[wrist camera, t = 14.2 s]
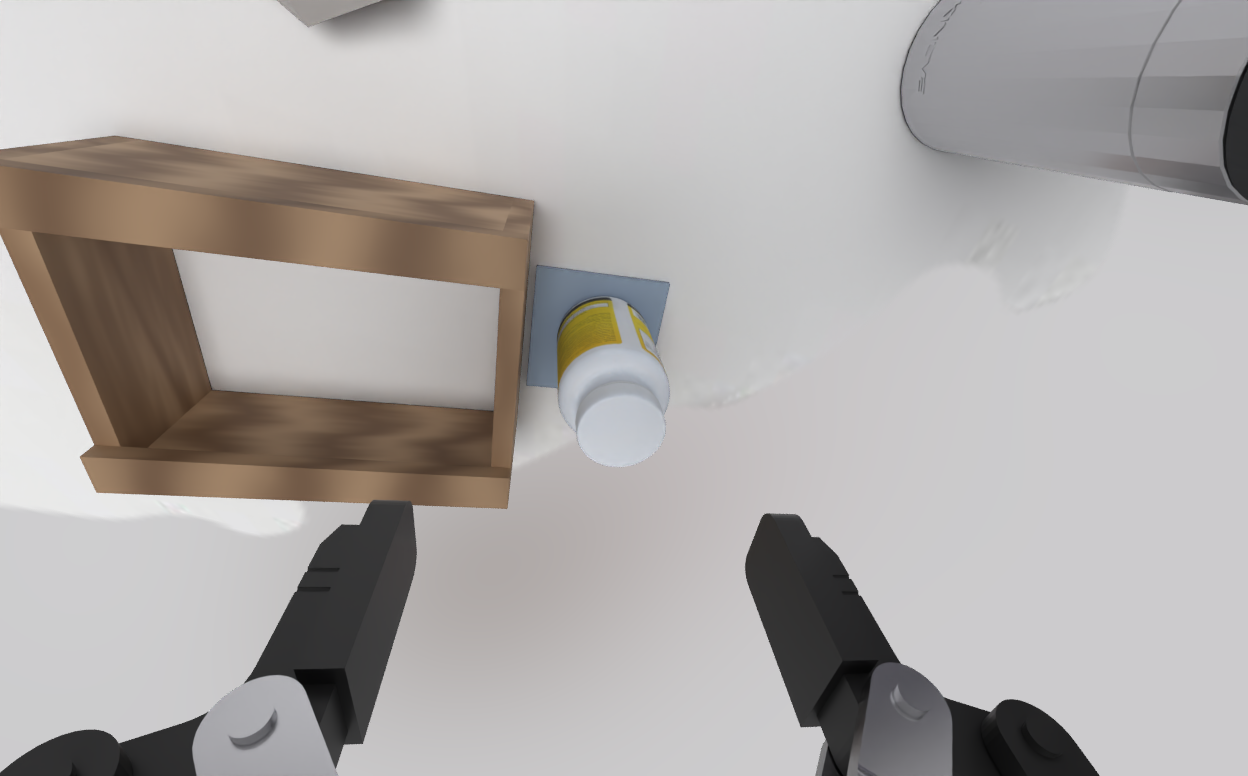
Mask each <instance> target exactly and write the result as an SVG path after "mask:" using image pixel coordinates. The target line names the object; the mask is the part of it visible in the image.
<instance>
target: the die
mask: <svg viewBox="0 0 1248 776" xmlns="http://www.w3.org/2000/svg"><path fill="white" fill-rule="evenodd" d="M277 1H278V2H279V3H280V4H281V5H283V6H284V7H285V8H286V9H287V10H289V11H290V12H291V13H292V14H293V15H294V16H296V17H297V18H298V19H299V20H300V21H301V22H303V23H304V24H305V25H306V26H307V27H310V26H312V25H315V24H318V23H321V22H323V21H326V20H329V19H332V18H335V17H337V16H340V15H343V14H346V13H348V12H351V11H354V10H357V9H360V8H362V7H365V6H368V5H371V4H373V3H376V2H379V1H382V0H277Z"/></svg>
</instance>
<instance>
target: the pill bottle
mask: <svg viewBox="0 0 1248 776" xmlns="http://www.w3.org/2000/svg"><path fill="white" fill-rule="evenodd" d="M557 374H558V402H559V408H560V411H561V414H562V416H563V418H564V420H565V421H566V423H567V424H568V425H569V426H570V427H571V428H572V429H573V430H574V431H575V432H576V434H577V440H578V443H579V446H580V448H581V449H582V451H583V452H584V454H585V455H586V456H588V457H589V458H590V459H591V460H593V461H595V462H597V463H599V464H602V465H605V466H610V467H626V466H630V465H634V464H637V463H640V462H642V461H644V460H645V459H647V458H649V457H650V456H651V455H653V453H655V452H656V450H657V449H658V448H659V447H660V445H661V444H662V441H663V439H664V437H665V432H666V423H665V418H664V414H665V412H666V409H667V406H668V402H669V397H670V388H669V382H668V378H667V375H666V372H665V370H664V367H663V365H662V362H661V360H660V357H659V355H658V352H657V349H656V347H655V345H654V342H653V340H652V337H651V334H650V332H649V329H648V327H647V324H646V322H645V320H644V318H643V317H642V315H641V314H640V313H639V311H638V310H637V309H636V308H635V307H633V306H632V305H631V304H629V303H627V302H625V301H623V300H621V299H618V298H614V297H607V296H601V297H594V298H590V299H587V300H584V301H582V302H580V303H578V304H577V305H575V306H574V307H573V308H572V309H571V310H570V311H569V312H568V313H567V314H566V315H565V317H564V318H563V320H562V322H561V324H560V326H559V330H558V334H557Z"/></svg>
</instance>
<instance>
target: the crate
mask: <svg viewBox="0 0 1248 776" xmlns="http://www.w3.org/2000/svg"><path fill="white" fill-rule="evenodd" d="M533 210H534V201H532V200H526V199H519V198H513V197H506V196H500V195H494V194H487V193H481V192H474V191H468V190H461V189H455V188H448V187H442V186H436V185H429V184H423V183H416V182H410V181H403V180H397V179H391V178H384V177H378V176H371V175H365V174H358V173H352V172H345V171H339V170H333V169H326V168H320V167H313V166H307V165H300V164H294V163H288V162H281V161H275V160H268V159H262V158H255V157H249V156H242V155H236V154H230V153H223V152H217V151H210V150H204V149H197V148H191V147H184V146H178V145H172V144H165V143H159V142H152V141H146V140H139V139H133V138H127V137H120V136H109V137H100V138H92V139H84V140H75V141H67V142H59V143H50V144H42V145H34V146H26V147H17V148H9V149H1V150H0V235H1V237H2V239H3V241H4V244H5V246H6V248H7V250H8V252H9V255H10V257H11V259H12V261H13V264H14V266H15V268H16V270H17V273H18V275H19V277H20V279H21V282H22V284H23V286H24V288H25V291H26V293H27V295H28V297H29V299H30V302H31V304H32V306H33V308H34V311H35V313H36V315H37V317H38V320H39V322H40V324H41V326H42V329H43V331H44V333H45V335H46V337H47V340H48V342H49V344H50V346H51V349H52V351H53V353H54V355H55V358H56V360H57V362H58V364H59V367H60V369H61V371H62V373H63V376H64V378H65V380H66V382H67V384H68V387H69V389H70V391H71V393H72V396H73V398H74V400H75V402H76V405H77V407H78V409H79V411H80V414H81V416H82V418H83V420H84V423H85V425H86V427H87V429H88V431H89V434H90V436H91V438H92V440H93V443H94V446H93V447H92V448H90V449H89V450H88V451H86V452H85V453H84V454H83V455H81V456H80V459H81V461H82V463H83V465H84V467H85V469H86V471H87V473H88V476H89V478H90V480H91V482H92V484H93V486H94V488H95V490H96V492H97V493H119V494H145V495H170V496H196V497H221V498H247V499H272V500H298V501H323V502H325V501H326V502H348V503H371V501H372V500H399V501H411V503H412V505H425V506H450V507H476V508H501V509H507V507H508V499H509V489H510V480H511V471H512V462H513V453H514V444H515V435H516V425H517V413H518V400H519V387H520V375H521V362H522V349H523V337H524V324H525V311H526V299H527V286H528V273H529V261H530V248H531V235H532V223H533ZM172 249H180V250H189V251H197V252H205V253H213V254H222V255H230V256H238V257H246V258H255V259H263V260H271V261H280V262H288V263H296V264H304V265H313V266H321V267H329V268H337V269H346V270H354V271H362V272H370V273H379V274H387V275H395V276H404V277H412V278H420V279H428V280H437V281H445V282H453V283H461V284H470V285H478V286H486V287H494V288H500V300H499V319H498V339H497V359H496V379H495V399H494V411H483V410H469V409H456V408H443V407H429V406H416V405H403V404H389V403H376V402H363V401H350V400H336V399H323V398H310V397H296V396H283V395H270V394H256V393H243V392H230V391H216V390H212V389H211V386H210V382H209V379H208V375H207V372H206V368H205V365H204V361H203V357H202V354H201V350H200V347H199V343H198V340H197V336H196V332H195V329H194V325H193V322H192V318H191V315H190V311H189V308H188V304H187V300H186V297H185V293H184V290H183V286H182V283H181V279H180V276H179V272H178V268H177V265H176V261H175V258H174V254H173V251H172Z"/></svg>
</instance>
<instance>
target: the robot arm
mask: <svg viewBox="0 0 1248 776" xmlns="http://www.w3.org/2000/svg"><path fill="white" fill-rule="evenodd" d="M901 93H902V108H903V111H904V115H905V119H906V122H907V124H908V126H909V128H910V129H911V131H912V133H913V134H914V135H915V136H916V137H917V138H918V139H919V140H920V141H921V142H922V143H923V144H925V145H927V146H929V147H930V148H932V149H935V150H940V151H945V152H951V153H956V154H962V155H967V156H972V157H978V158H982V159H987V160H993V161H998V162H1004V163H1009V164H1015V165H1021V166H1026V167H1032V168H1038V169H1043V170H1049V171H1055V172H1060V173H1066V174H1072V175H1077V176H1083V177H1089V178H1094V179H1100V180H1106V181H1111V182H1117V183H1123V184H1128V185H1134V186H1139V187H1145V188H1151V189H1156V190H1163V191H1168V192H1176V193H1182V194H1187V195H1193V196H1199V197H1205V198H1210V199H1216V200H1222V201H1227V202H1233V203H1239V204H1244V205H1248V0H941V1H940V2H939V3H938V4H937V6H936V7H935V8H934V9H933V10H932V11H931V13H930V14H929V16H928V17H927V19H926V20H925V22H924V23H923V25H922V26H921V28H920V29H919V31H918V33H917V35H916V38H915V40H914V42H913V44H912V46H911V48H910V51H909V54H908V57H907V61H906V64H905V67H904V72H903V80H902V87H901ZM416 550H417V549H416V538H415V528H414V517H413V506H412V503H411V501H399V500H372V501H371V503H370V504H369V507H368V508H367V511H366V512H365V515H364V517H363V519H362V521H361V523H360V525H341V526H340V527H338V528H337V529H336V530H335V531H334V532H333V533H332V534H331V535H330V536H329V537H328V538H326V540H324V541H323V542H322V543H321V544H320V546H319V547H318V550H317V551H316V553H315V555H314V557H313V559H312V561H311V562H310V564H309V566H308V571H307V572H305V574H304V576H303V578H302V580H301V581H300V584H299V585H298V590H297V592H295V593H294V595H293V597H292V598H291V600H290V602H289V604H288V606H287V608H286V610H285V612H284V614H283V616H282V618H281V619H280V621H279V623H278V625H277V627H276V629H275V631H274V633H273V634H272V636H271V638H270V640H269V642H268V644H267V646H266V648H265V650H264V652H263V653H262V655H261V657H260V659H259V661H258V663H257V665H256V667H255V668H254V670H253V672H252V673H251V675H250V676H249V677H248V679H247V680H246V681H245V683H244V684H242V685H241V686H239V687H237V688H236V689H234V690H232V691H231V692H230V693H228V694H227V695H226V696H224V697H223V698H222V699H221V700H220V701H219V702H217V704H215V705H214V707H213V708H212V709H211V710H210V711H209V712H207V713H206V714H204V715H201V716H199V717H197V718H195V719H193V720H190V721H187V722H185V723H182V724H179V725H176V726H172V727H169V728H166V729H163V730H160V731H157V732H154V733H151V734H147V735H144V736H141V737H138V738H135V739H132V740H129V741H125V742H122V743H118V742H117V740H116V739H115V738H114V737H113V736H112V735H111V734H108V733H106V732H104V731H100V730H82V731H75V732H71V733H68V734H65V735H61V736H59V737H56V738H54V739H52V740H49V741H47V742H45V743H43V744H41V745H39V746H37V747H35V748H34V749H32V750H31V751H29V752H27V753H26V754H24V755H23V756H21V757H20V758H18V759H17V760H16V761H14V762H13V763H11V764H10V765H9V766H8V767H7V768H5V769H4V770H3V771H2V772H1V773H0V776H338V774H337V772H336V766H337V763H338V760H339V757H340V754H341V751H342V748H343V745H344V744H363V741H364V738H365V735H366V731H367V727H368V725H369V722H370V718H371V715H372V712H373V708H374V705H375V701H376V699H377V695H378V692H379V689H380V685H381V682H382V679H383V676H384V672H385V669H386V666H387V662H388V659H389V656H390V652H391V649H392V646H393V643H394V639H395V636H396V633H397V629H398V626H399V622H400V619H401V616H402V613H403V609H404V606H405V603H406V600H407V596H408V593H409V590H410V586H411V583H412V580H413V576H414V571H415V565H416V555H417V551H416ZM745 571H746V579H747V582H748V585H749V588H750V591H751V594H752V596H753V599H754V602H755V604H756V607H757V610H758V612H759V615H760V618H761V621H762V623H763V626H764V629H765V631H766V634H767V637H768V640H769V642H770V645H771V647H772V650H773V653H774V656H775V658H776V661H777V664H778V667H779V669H780V672H781V675H782V677H783V680H784V683H785V686H786V688H787V691H788V694H789V696H790V699H791V702H792V704H793V707H794V710H795V713H796V715H797V718H798V721H799V723H800V726H801V727H817V726H821V728H822V730H823V733H824V736H825V738H826V740H825V742H824V743H823V746H822V748H821V753H820V758H819V762H818V766H817V771H816V776H1099V774H1098V773H1097V771H1095V769H1094V767H1093V766H1092V765H1091V763H1090V762H1089V761H1088V759H1087V758H1086V756H1085V755H1084V754H1083V752H1082V751H1081V749H1080V748H1079V747H1078V746H1077V744H1076V743H1075V741H1074V740H1073V739H1072V738H1071V736H1070V735H1069V734H1068V733H1067V732H1066V731H1065V729H1063V727H1062V726H1060V725H1059V724H1058V723H1057V722H1056V721H1055V720H1054V719H1053V718H1051V717H1050V716H1049V715H1048V714H1046V713H1045V712H1043V711H1042V710H1040V709H1038V708H1036V707H1035V706H1033V705H1031V704H1028V703H1026V702H1023V701H1019V700H1013V699H1010V700H1004V701H1002V702H1001V703H999V705H997V706H996V708H994V709H993V710H992V711H991V712H988V711H985V710H981V709H978V708H975V707H972V706H969V705H966V704H962V703H960V702H956V701H953V700H950V699H947V698H944V697H943V696H942V695H941V693H940V692H939V690H938V689H937V688H936V687H935V686H934V685H933V684H932V683H931V682H930V681H929V680H928V679H927V678H926V677H924V676H923V675H922V674H920V673H919V672H917V671H916V670H914V669H912V668H910V667H908V666H906V665H903V664H901V663H900V662H899V660H898V659H897V657H896V655H895V654H894V652H893V650H892V649H891V647H890V645H889V643H888V641H887V640H886V638H885V636H884V635H883V633H882V631H881V630H880V628H879V626H878V624H877V623H876V621H875V619H874V617H873V616H872V614H871V612H870V611H869V609H868V607H867V605H866V604H865V602H864V600H863V598H862V597H861V596H859V595H858V590H857V588H856V586H855V585H854V583H853V581H852V580H851V579H849V574H848V573H847V571H846V569H845V567H844V566H843V564H842V562H841V561H840V559H839V557H838V556H837V554H836V553H835V552H834V551H833V550H832V549H831V548H829V547H828V546H827V545H826V544H825V543H824V542H823V541H822V540H821V539H820V538H819V537H811V535H810V533H809V531H808V530H807V528H806V526H805V524H804V522H803V520H802V519H801V518H800V517H799V516H798V515H795V514H765V515H763V517H762V518H761V521H760V523H759V526H758V528H757V531H756V534H755V536H754V539H753V541H752V544H751V546H750V549H749V552H748V554H747V557H746V563H745Z"/></svg>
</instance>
